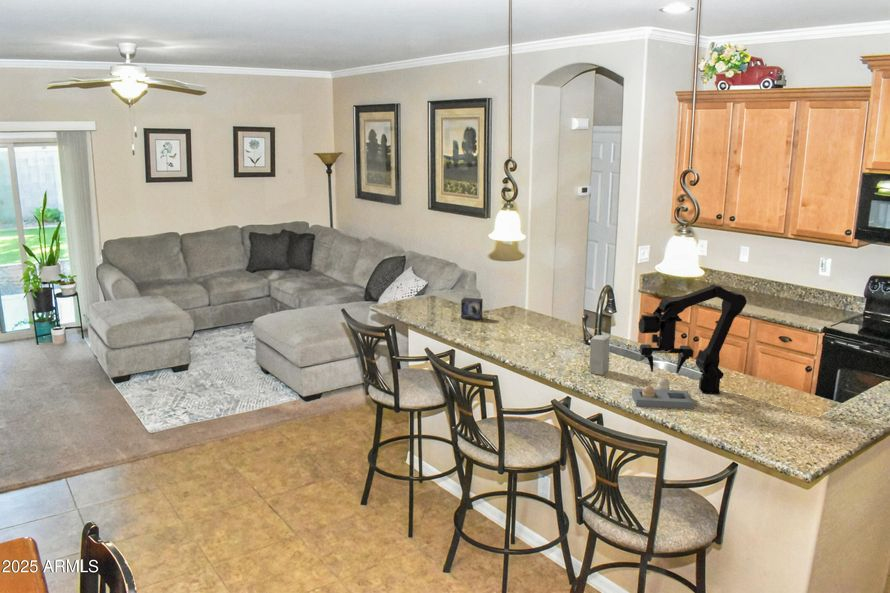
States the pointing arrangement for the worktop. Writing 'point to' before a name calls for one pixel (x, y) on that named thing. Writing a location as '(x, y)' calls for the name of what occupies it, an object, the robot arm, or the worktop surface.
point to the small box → (471, 308)
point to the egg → (663, 384)
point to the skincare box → (599, 354)
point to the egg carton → (662, 398)
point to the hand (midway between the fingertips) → (664, 372)
